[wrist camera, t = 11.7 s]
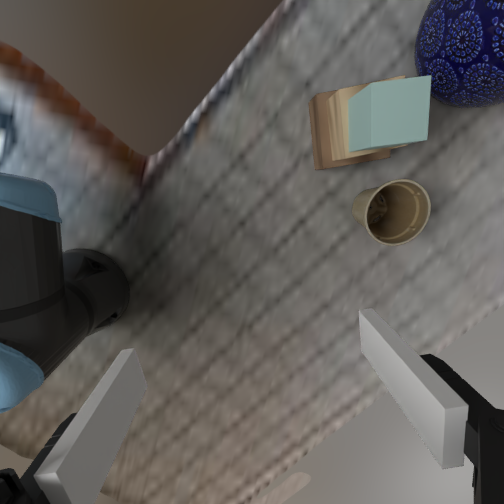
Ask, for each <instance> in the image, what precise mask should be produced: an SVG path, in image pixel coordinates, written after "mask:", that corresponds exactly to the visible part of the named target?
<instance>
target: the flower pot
mask: <svg viewBox="0 0 504 504" xmlns="http://www.w3.org/2000/svg"><path fill="white" fill-rule="evenodd" d="M380 196H381V197H382V199H383V202H382V201H381V200H380ZM370 206H371V207H372V208H371V209H370ZM430 211H431V202H430V198H429V195H428V193H427V192H426V191H425V189H424V188H423V187H422V186H421V185H420V184H418V183H416V182H414V181H412V180H408V179H398V180H393V181H390V182H387V183H385V184H383V185H382V186H380V187H378V188H373V189H368V190H365V191H363V192H361V193H360V194H359V195H358V196H357V197H356V198H355V200H354V203H353V207H352V213H353V216H354V218H355V220H356V221H357V222H358V223H360V224H361V225H363V226H364V227H365V228H366V229H367V231H368V233H369V234H370V236H371V237H372V238H373V239H374V240H376V241H377V242H379V243H381V244H384V245H388V246H398V245H402V244H405V243H407V242H409V241H411V240H413V239H414V238H415V237H416V236H417V235H419V234H420V232H421V231H422V230H423V229H424V227H425V226H426V224H427V222H428V219H429V216H430ZM379 216H380V218H379V219H378V220H376V221H374V219H376V218H377V217H379Z"/></svg>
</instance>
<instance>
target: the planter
mask: <svg viewBox="0 0 504 504" xmlns="http://www.w3.org/2000/svg"><path fill="white" fill-rule="evenodd" d="M415 66H416V71H417V74H418V77H421V76H429V75H431V89H430V95H431V96H433V97H434V98H436V99H437V100H439V101H441V102H443V103H445V104H448V105H451V106H455V107H461V108H474V107H485V106H490V105H495V104H501V103H504V0H431V1H430V3H429V5H428V7H427V9H426V11H425V13H424V16H423V18H422V21H421V23H420V26H419V30H418V34H417V38H416V44H415Z"/></svg>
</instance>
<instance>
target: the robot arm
mask: <svg viewBox="0 0 504 504" xmlns="http://www.w3.org/2000/svg"><path fill="white" fill-rule="evenodd" d="M60 223H62V220H61V218H60V217H59V212H58V205H57V198H56V194H55V191H54V190H53V188H52V187H51V186H49V185H48V184H47V183H45V182H43V181H41V180H37V179H33V178H28V177H23V176H17V175H12V174H6V173H0V413H3V412H5V411H8V410H10V409H11V408H13V407H15V406H16V405H18V404H19V403H20V402H21V401H22V400H23V399H25V398H26V397H27V396H28V395H29V394H30V393H31V392H32V391H34V390H35V389H37V388H39V387H40V386H41V385H42V383H43V381H44V380H45V379H46V378H47V377H48V376H49V375H50V374H51V373H52V372H53V371H54V370H55V369H56V368H57V367H58V366H59V365H60V363H61V362H62V361H63V360H64V359H65V358H66V357H67V356H68V355H69V354H70V353H71V352H72V351H73V350H74V349H75V348H76V347H77V346H78V345H79V343H80V342H81V341H82V340H83V339H84V338H85V337H86V336H89V335H91V334H93V333H95V332H98V331H100V330H102V329H104V328H106V327H108V326H110V325H111V324H112V323H114V322H115V321H116V320H117V319H118V318H119V317H120V315H121V314H122V313H123V312H124V310H125V309H126V307H127V304H128V301H129V285H128V282H127V279H126V277H125V275H124V273H123V272H122V270H121V269H120V268H119V267H118V266H117V265H116V264H115V263H114V262H113V261H112V260H111V259H109V258H108V257H106V256H104V255H102V254H100V253H98V252H95V251H92V250H86V249H73V250H68V251H65V252H62V241H61V227H60ZM359 323H360V339H361V351H362V353H363V354H364V356H365V357H366V358H367V360H368V361H369V363H370V364H371V366H372V367H373V369H374V370H375V372H376V373H377V375H378V376H379V377H380V379H381V380H382V382H383V383H384V385H385V386H386V388H387V389H388V391H389V392H390V394H391V395H392V396H393V398H394V399H395V401H396V402H397V404H398V405H399V407H400V408H401V410H402V411H403V412H404V414H405V415H406V417H407V418H408V420H409V421H410V423H411V424H412V426H413V427H414V429H415V430H416V432H417V433H418V435H419V436H420V437H421V439H422V440H423V442H424V443H425V445H426V446H427V448H428V449H429V451H430V452H431V453H432V455H433V456H434V458H435V459H436V461H437V462H438V464H439V465H440V467H441V468H442V469H446V468H453V467H459V466H464V454H465V455H466V456H467V457H468V458H469V459H470V461H471V462H472V463H473V464H474V473H473V483H472V487H474V504H504V410H501V409H496V408H494V407H493V406H492V405H491V404H490V403H489V402H488V401H487V400H486V399H484V398H483V397H482V396H481V395H480V394H479V393H478V392H477V391H476V390H475V389H474V388H472V387H471V386H470V385H469V384H468V383H467V382H466V381H465V380H464V379H462V378H461V377H460V376H459V375H458V374H457V373H456V372H455V371H453V369H452V368H451V367H450V366H448V365H447V364H446V363H445V362H444V361H443V360H441V359H439V358H437V357H435V356H434V355H432V354H426V355H420V356H419V355H418V354H417V353H416V352H415V351H414V350H413V349H412V348H411V347H410V346H409V345H408V344H407V343H406V342H405V341H404V340H403V339H402V338H401V337H400V336H399V335H398V334H397V333H396V332H395V331H394V330H393V329H392V328H391V327H390V326H389V325H388V324H387V323H386V322H385V321H384V320H383V319H382V318H381V317H380V316H379V315H378V314H377V313H376V311H375V310H374V309H373V308H369V309H363V310H359ZM147 387H148V385H147V382H146V380H145V377H144V374H143V371H142V368H141V365H140V362H139V359H138V356H137V353H136V351H135V348H131V349H125V350H121V352H120V353H119V354H118V356H117V357H116V359H115V360H114V362H113V363H112V364H111V366H110V367H109V369H108V370H107V372H106V373H105V374H104V376H103V377H102V379H101V380H100V382H99V383H98V384H97V386H96V387H95V389H94V390H93V392H92V393H91V394H90V396H89V397H88V399H87V400H86V402H85V403H84V404H83V406H82V407H81V409H80V410H79V412H78V413H73V414H71V415H70V416H69V417H68V418H67V419H66V420H65V421H63V422H62V423H61V424H60V425H59V427H58V428H57V430H56V431H55V432H54V434H53V435H52V438H50V439H49V440H48V442H47V443H46V444H45V447H44V448H43V449H42V450H41V451H40V453H39V454H38V455H37V457H36V458H35V459H34V461H33V462H32V463H31V465H30V467H29V468H28V469H27V470H26V472H25V473H24V475H23V476H22V477H21V478H20V479H19V477H18V475H17V474H16V472H15V471H14V469H11V468H7V469H3V470H0V504H94V503H95V501H96V499H97V497H98V494H99V492H100V490H101V488H102V486H103V483H104V481H105V479H106V477H107V475H108V472H109V470H110V468H111V466H112V464H113V461H114V459H115V457H116V455H117V453H118V450H119V448H120V446H121V444H122V442H123V439H124V437H125V435H126V433H127V431H128V428H129V426H130V424H131V422H132V420H133V417H134V415H135V413H136V411H137V409H138V406H139V404H140V402H141V400H142V398H143V395H144V393H145V391H146V389H147Z"/></svg>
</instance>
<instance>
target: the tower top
mask: <svg viewBox="0 0 504 504" xmlns="http://www.w3.org/2000/svg"><path fill="white" fill-rule="evenodd" d="M397 79H405V75H403V76H398V77H394V78H389V79H385V80H380V81H375V82H381V81H389V80H397ZM371 83H373V82H371ZM369 84H370V83H366V84H362V85H357V86H352V87H348V88H343V89H339V90H338V91H337V92H336V93H334V94H333V95H332V96H331V97H330V98H329V99H328V100H327V101H326V105H327V114H328V123H329V132H330V142H331V151H332V160H333V161H335V160H341V159H346V158H351V157H356V156H360V155H365V154H370V153H375V152H379V151H384V150H389V149H394V148H398V147H403V146H407V144H405V145H400V146H394V147H387V148H379V149H371V150H363V151H355V152H349V135H348V100H349V99H350V98H351V97H353V96H354V95H355V94H357V93H358V92H359V91H361V90H362V89H364V88H365V87H366V86H368V85H369Z"/></svg>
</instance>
